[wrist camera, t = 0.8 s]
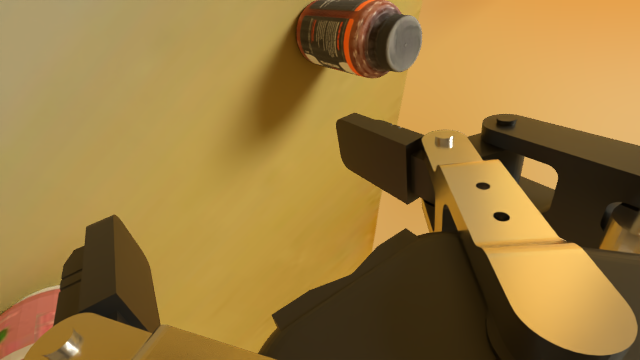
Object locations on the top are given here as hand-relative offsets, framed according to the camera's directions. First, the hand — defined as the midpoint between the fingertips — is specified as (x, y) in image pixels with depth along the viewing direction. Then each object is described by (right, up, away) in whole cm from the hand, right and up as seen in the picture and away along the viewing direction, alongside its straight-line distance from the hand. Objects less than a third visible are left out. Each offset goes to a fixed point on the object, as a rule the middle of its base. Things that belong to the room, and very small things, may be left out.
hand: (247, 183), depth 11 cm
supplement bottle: (+2, +15, +20) cm, 26 cm away
